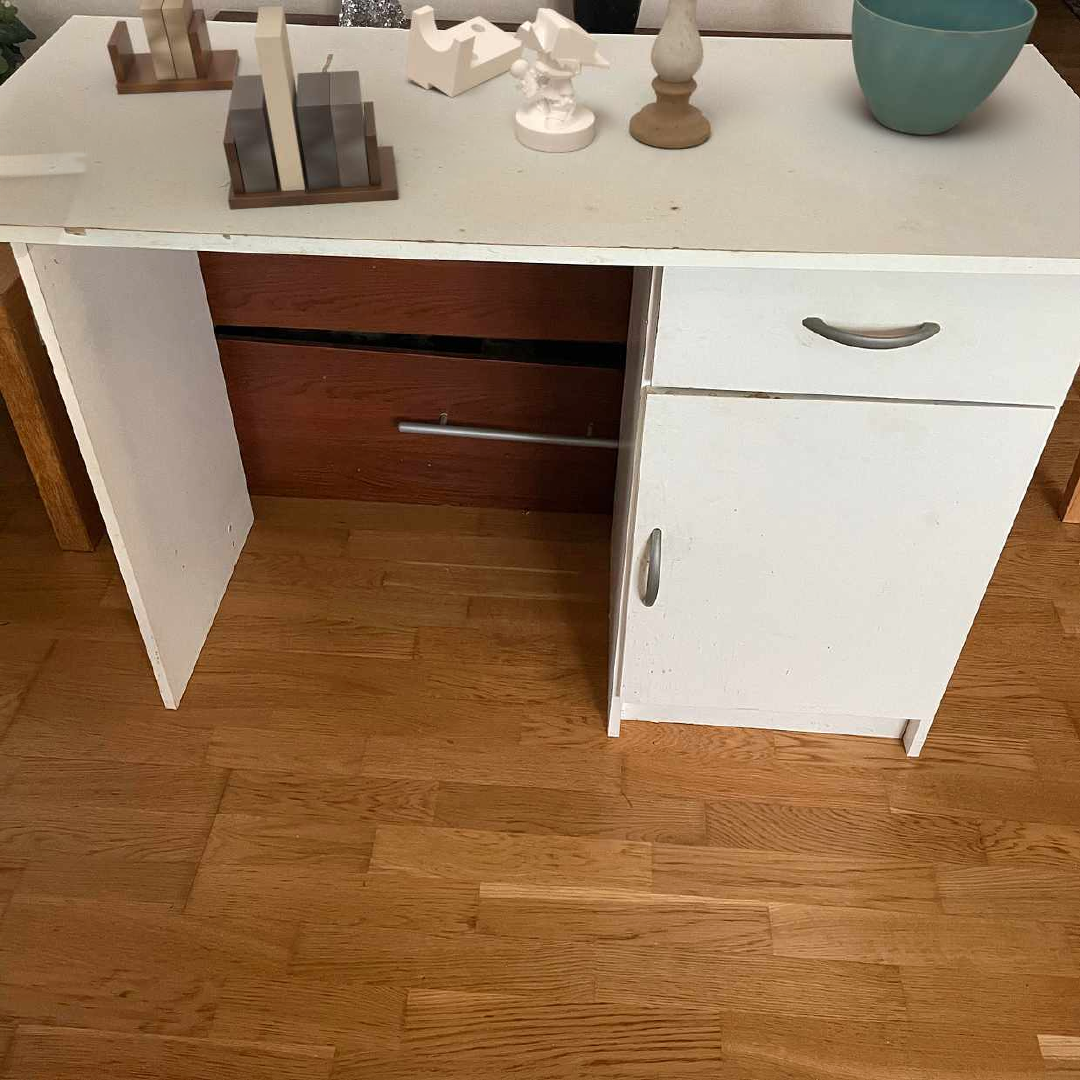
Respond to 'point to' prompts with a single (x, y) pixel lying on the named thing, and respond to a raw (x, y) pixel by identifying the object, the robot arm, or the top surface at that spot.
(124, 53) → the brown book rack
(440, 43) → the bracket
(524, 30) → the character figurine
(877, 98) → the plant pot
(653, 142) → the candle holder
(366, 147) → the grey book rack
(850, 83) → the top surface
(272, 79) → the cream book
